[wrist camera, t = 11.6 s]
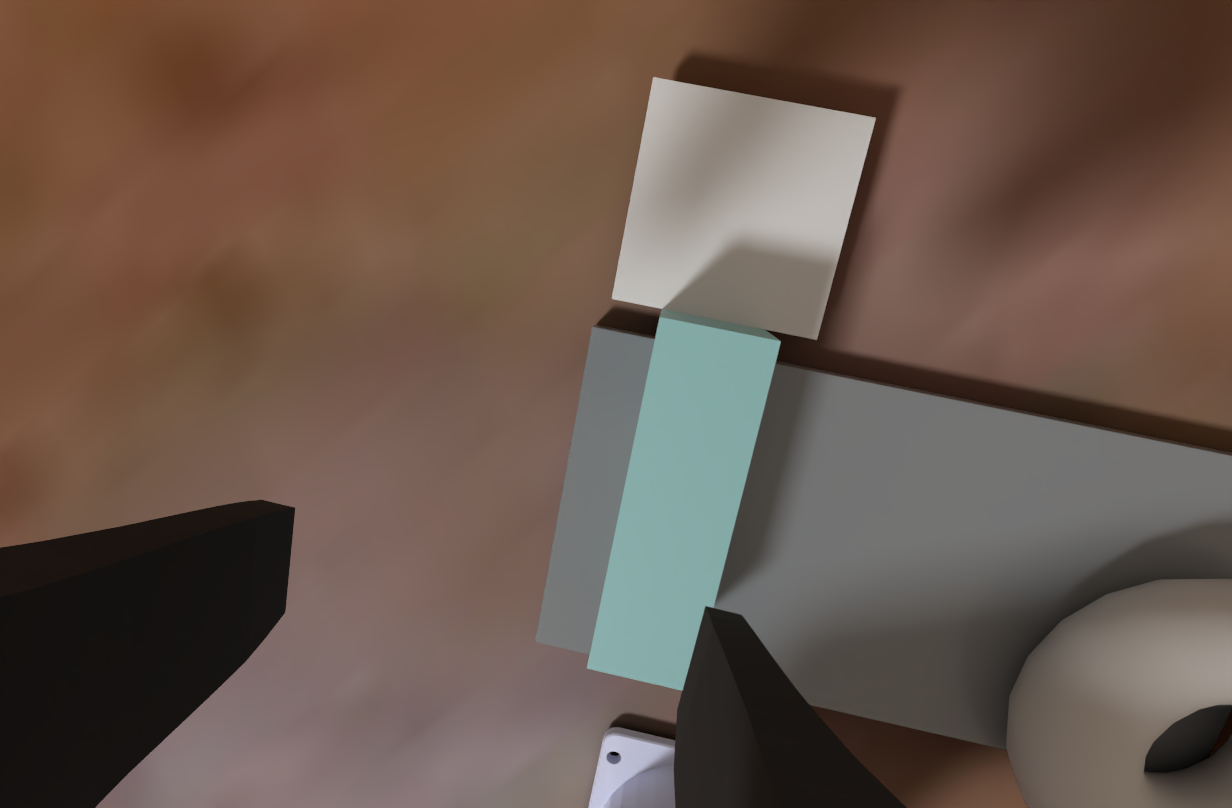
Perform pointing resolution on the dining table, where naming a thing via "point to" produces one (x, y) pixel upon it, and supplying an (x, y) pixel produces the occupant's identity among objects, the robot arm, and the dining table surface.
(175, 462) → the dining table surface
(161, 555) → the robot arm
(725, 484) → the turner
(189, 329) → the dining table surface
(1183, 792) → the donut
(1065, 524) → the slate board
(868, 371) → the dining table surface
